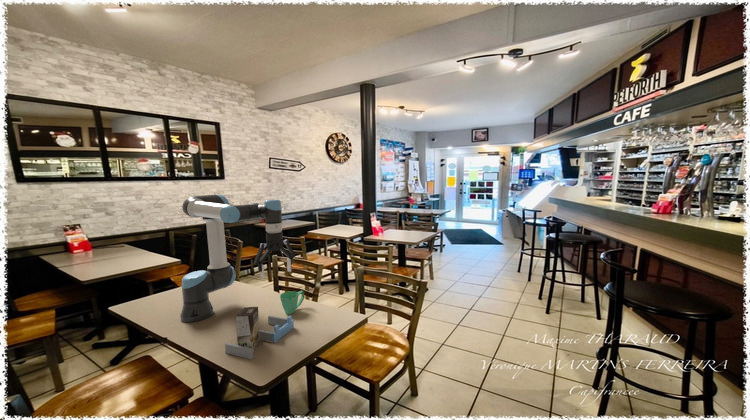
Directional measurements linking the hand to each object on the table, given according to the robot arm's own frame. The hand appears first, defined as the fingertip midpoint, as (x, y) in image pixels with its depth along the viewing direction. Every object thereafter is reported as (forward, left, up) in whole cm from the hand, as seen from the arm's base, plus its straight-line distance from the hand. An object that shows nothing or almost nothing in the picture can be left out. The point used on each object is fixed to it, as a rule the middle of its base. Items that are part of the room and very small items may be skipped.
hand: (276, 274), depth 140 cm
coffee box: (0, -19, -26) cm, 33 cm away
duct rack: (+1, -13, -26) cm, 29 cm away
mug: (-3, +17, -26) cm, 31 cm away
